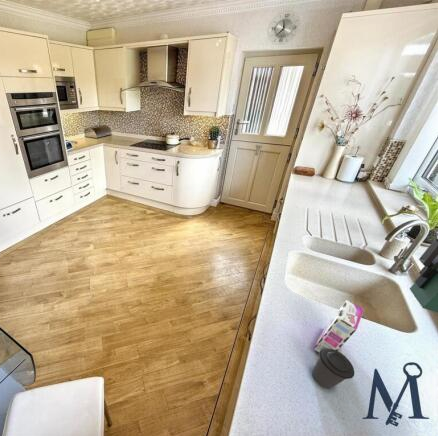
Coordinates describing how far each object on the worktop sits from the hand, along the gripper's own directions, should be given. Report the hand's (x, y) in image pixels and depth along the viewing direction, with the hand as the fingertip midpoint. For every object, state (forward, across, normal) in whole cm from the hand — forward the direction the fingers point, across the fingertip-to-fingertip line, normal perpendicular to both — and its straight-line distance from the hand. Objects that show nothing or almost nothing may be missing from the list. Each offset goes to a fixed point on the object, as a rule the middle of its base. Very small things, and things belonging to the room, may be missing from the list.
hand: (429, 287), depth 67 cm
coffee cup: (+26, -20, -24) cm, 41 cm away
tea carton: (-3, 0, -6) cm, 6 cm away
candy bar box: (+26, -17, -10) cm, 33 cm away
